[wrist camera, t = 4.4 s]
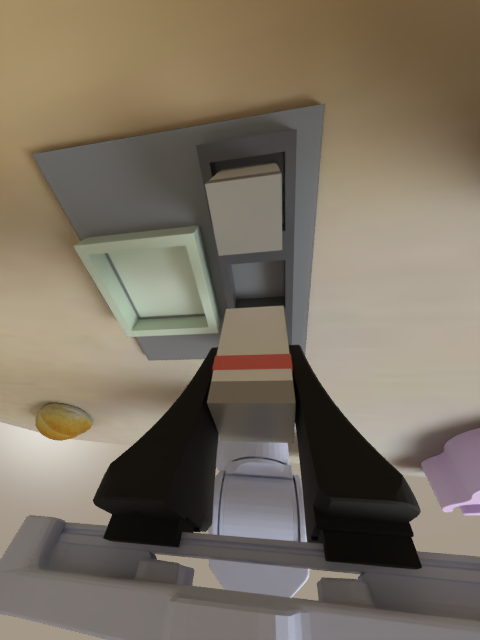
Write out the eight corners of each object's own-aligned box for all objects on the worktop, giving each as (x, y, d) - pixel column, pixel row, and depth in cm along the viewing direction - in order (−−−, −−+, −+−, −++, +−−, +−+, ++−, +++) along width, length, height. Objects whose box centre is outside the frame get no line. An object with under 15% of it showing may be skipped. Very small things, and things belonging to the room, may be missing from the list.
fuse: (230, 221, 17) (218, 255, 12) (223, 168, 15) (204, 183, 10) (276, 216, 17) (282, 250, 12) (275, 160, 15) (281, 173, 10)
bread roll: (102, 417, 42) (89, 439, 39) (78, 428, 45) (64, 449, 42) (58, 395, 38) (39, 418, 35) (35, 409, 41) (17, 431, 38)
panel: (151, 355, 29) (142, 372, 27) (40, 153, 16) (8, 156, 14) (303, 351, 26) (307, 368, 24) (321, 105, 13) (332, 99, 11)
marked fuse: (233, 348, 16) (221, 441, 11) (225, 308, 14) (205, 402, 9) (284, 347, 15) (294, 443, 11) (284, 304, 13) (297, 402, 8)
